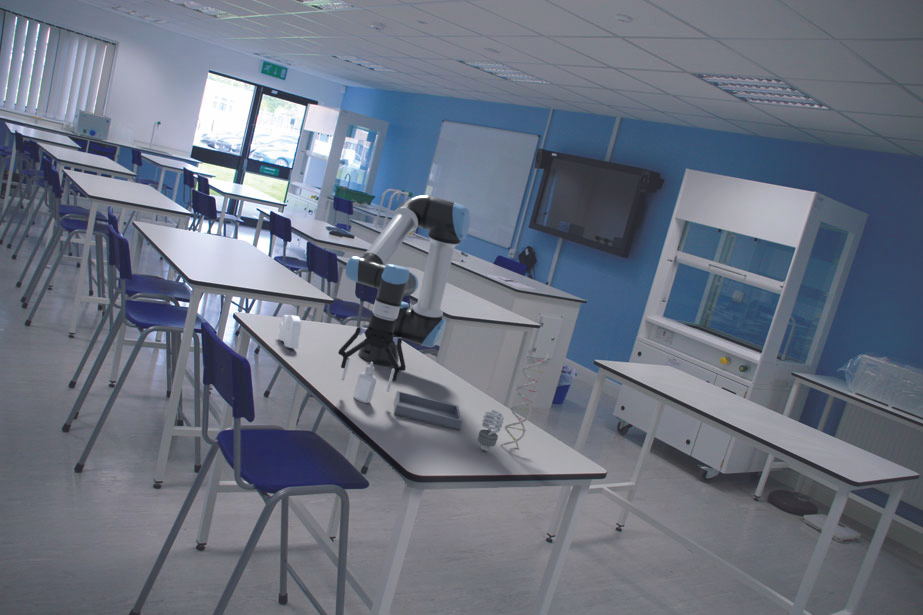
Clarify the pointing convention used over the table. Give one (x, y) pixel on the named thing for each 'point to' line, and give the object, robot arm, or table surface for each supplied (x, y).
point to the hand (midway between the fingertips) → (365, 384)
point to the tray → (427, 410)
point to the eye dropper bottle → (365, 385)
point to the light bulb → (488, 436)
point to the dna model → (524, 399)
